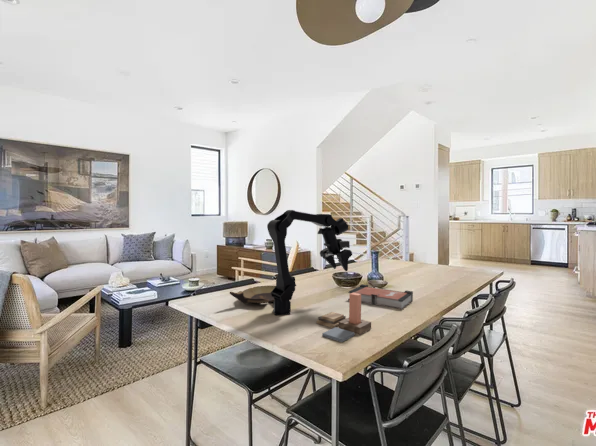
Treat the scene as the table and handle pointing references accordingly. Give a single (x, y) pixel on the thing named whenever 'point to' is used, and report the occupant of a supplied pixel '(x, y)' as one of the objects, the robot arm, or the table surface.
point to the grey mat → (338, 334)
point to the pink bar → (355, 308)
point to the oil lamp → (255, 294)
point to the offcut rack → (343, 323)
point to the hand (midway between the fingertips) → (340, 269)
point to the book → (384, 296)
